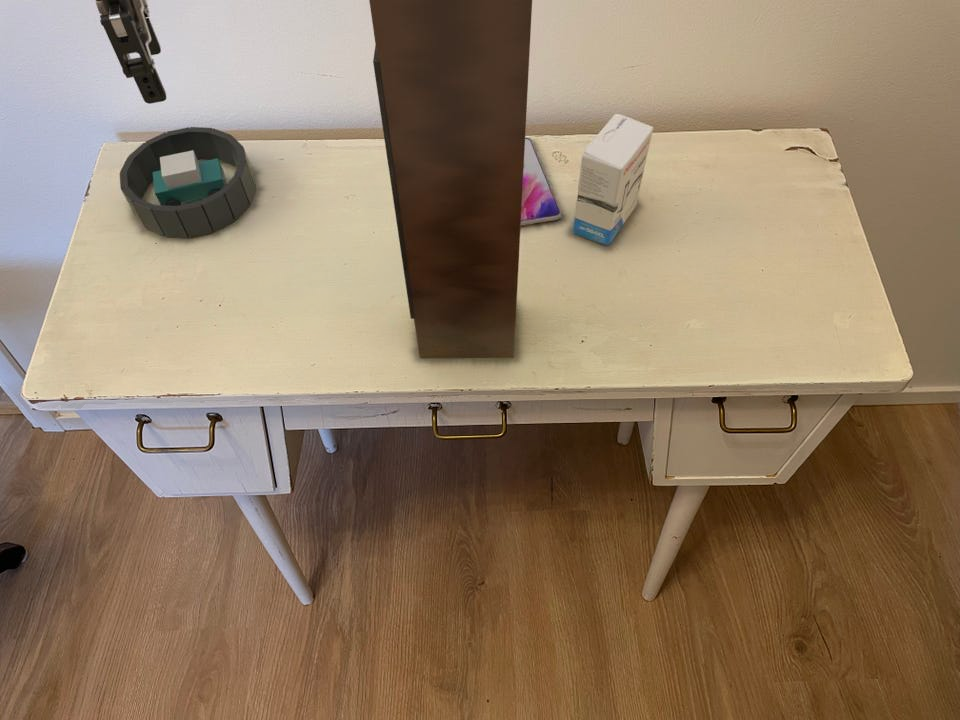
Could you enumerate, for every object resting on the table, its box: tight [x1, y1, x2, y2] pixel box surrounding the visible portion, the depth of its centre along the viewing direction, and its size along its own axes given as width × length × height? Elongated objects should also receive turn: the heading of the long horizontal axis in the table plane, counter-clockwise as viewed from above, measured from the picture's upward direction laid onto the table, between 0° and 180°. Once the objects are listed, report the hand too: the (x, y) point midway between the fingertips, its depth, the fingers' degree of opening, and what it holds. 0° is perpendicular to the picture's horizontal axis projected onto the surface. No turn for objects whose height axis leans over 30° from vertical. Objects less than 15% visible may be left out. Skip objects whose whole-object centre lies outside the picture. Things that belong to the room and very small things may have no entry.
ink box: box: [572, 113, 654, 247], centre depth 83 cm, size 9×5×12 cm, turn 148°
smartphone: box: [521, 136, 562, 226], centre depth 91 cm, size 7×1×15 cm
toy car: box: [152, 150, 227, 206], centre depth 89 cm, size 8×5×5 cm, turn 108°
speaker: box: [368, 0, 533, 359], centre depth 62 cm, size 10×7×40 cm
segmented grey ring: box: [119, 126, 257, 239], centre depth 89 cm, size 15×15×4 cm
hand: (154, 76), depth 77 cm, fingers open, 8 cm apart
